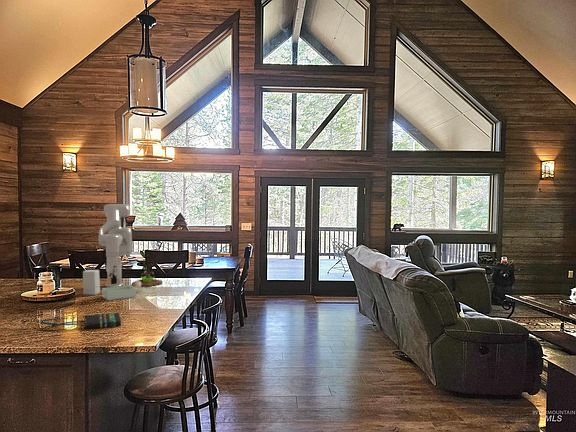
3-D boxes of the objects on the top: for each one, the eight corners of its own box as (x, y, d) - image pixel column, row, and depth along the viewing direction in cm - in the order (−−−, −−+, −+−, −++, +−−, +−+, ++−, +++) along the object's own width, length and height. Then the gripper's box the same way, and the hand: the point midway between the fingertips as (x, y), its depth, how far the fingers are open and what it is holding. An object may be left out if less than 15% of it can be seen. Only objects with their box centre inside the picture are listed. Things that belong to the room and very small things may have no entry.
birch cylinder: (132, 292, 278) (132, 281, 277) (139, 291, 281) (139, 281, 281) (134, 293, 274) (134, 282, 274) (142, 292, 277) (142, 282, 277)
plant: (126, 286, 297) (126, 271, 297) (143, 281, 316) (143, 267, 315) (150, 288, 291) (150, 272, 291) (166, 283, 310) (166, 268, 310)
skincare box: (100, 293, 273) (100, 269, 273) (94, 295, 267) (94, 271, 266) (88, 292, 274) (88, 269, 274) (82, 294, 268) (82, 271, 267)
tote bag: (121, 319, 199) (37, 326, 184) (121, 329, 199) (37, 337, 184) (118, 309, 218) (42, 315, 203) (118, 318, 218) (42, 324, 203)
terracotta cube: (107, 283, 260) (107, 276, 260) (115, 283, 263) (115, 275, 263) (109, 285, 256) (109, 277, 256) (117, 284, 259) (117, 276, 259)
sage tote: (102, 296, 262) (102, 288, 262) (129, 293, 273) (129, 285, 273) (107, 300, 252) (107, 291, 252) (136, 297, 262) (136, 288, 262)
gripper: (102, 253, 263) (102, 281, 264) (110, 256, 250) (110, 285, 250) (115, 253, 268) (115, 280, 268) (122, 255, 255) (122, 284, 255)
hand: (112, 282), depth 259 cm, fingers closed on terracotta cube, 4 cm apart
